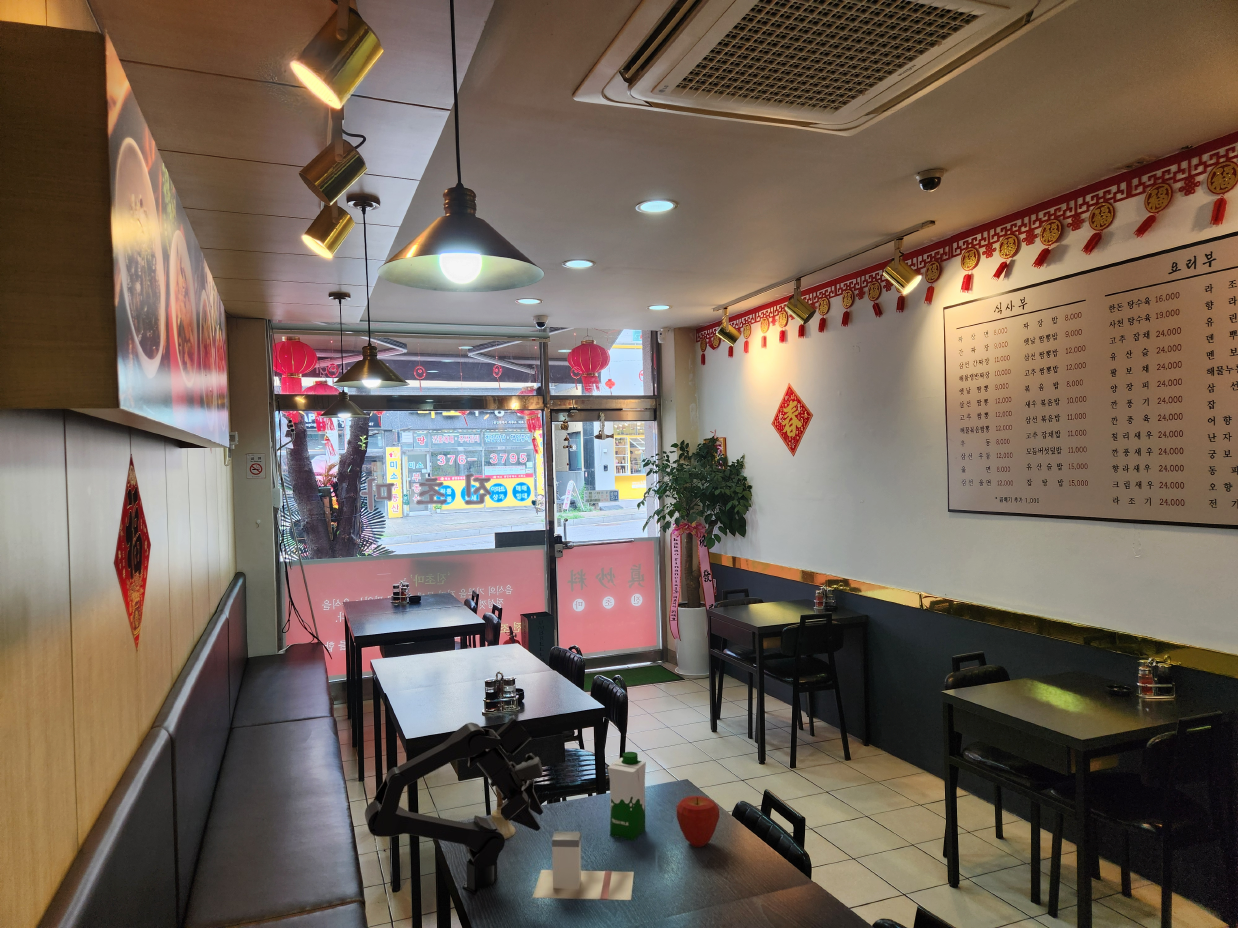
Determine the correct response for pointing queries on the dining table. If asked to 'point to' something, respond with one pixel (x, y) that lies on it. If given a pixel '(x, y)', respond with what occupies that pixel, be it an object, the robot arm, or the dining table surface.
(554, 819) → the dining table surface
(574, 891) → the board
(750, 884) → the dining table surface
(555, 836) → the white slab
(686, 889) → the dining table surface
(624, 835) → the milk carton
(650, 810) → the dining table surface
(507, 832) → the hand bell
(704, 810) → the apple
